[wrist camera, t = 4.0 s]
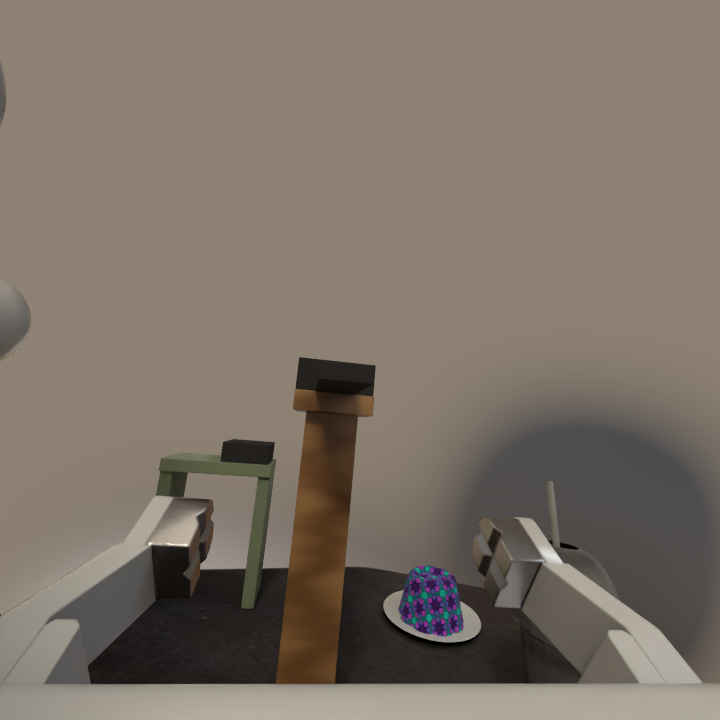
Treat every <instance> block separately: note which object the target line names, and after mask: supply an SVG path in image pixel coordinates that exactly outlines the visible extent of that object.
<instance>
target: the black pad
mask: <svg viewBox="0 0 720 720" xmlns="http://www.w3.org/2000/svg"><path fill="white" fill-rule="evenodd" d="M374 378H375V366H374V365H364V364H356V363H347V362H338V361H329V360H319V359H310V358H299V365H298V374H297V381H296V389H300V390H311V391H321V392H331V393H341V394H352V395H362V396H372V397H373V390H374Z"/></svg>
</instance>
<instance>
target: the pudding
mask: <svg viewBox="0 0 720 720" xmlns="http://www.w3.org/2000/svg"><path fill="white" fill-rule="evenodd" d="M383 606H384V611H385V614H386V615H387V617H388V618H389V619H390V620H391V621H392V622H393V623H394V624H395V625H397V626H398V627H399V628H401V629H403V630H405V631H406V632H408V633H411V634H413V635H415V636H418V637H421V638H424V639H428V640H433V641H439V642H460V641H465V640H469V639H471V638H473V637H475V636H476V635H477V634H478V633H479V631H480V630H481V622H480V619H479V617H478V615H477V614H476V613H475V612H474V611H473V610H472V609H471V608H470V607H468V606H467V605H465V604H464V603H462V602H461V601H460V599H459V593H458V588H457V583H456V580H455V577H454V576H453V575H452V574H450V573H448V572H447V571H445V570H443V569H440V568H436V567H433V566H418V567H415V569H412V570H411V571H410V573H409V574H408V577H407V581H406V584H405V588H404V590H403V591H398V592H395V593H393V594H391V595H390V596H388V597H387V598H386V600H385V601H384V605H383Z"/></svg>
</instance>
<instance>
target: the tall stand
mask: <svg viewBox="0 0 720 720" xmlns="http://www.w3.org/2000/svg"><path fill="white" fill-rule="evenodd" d="M373 405H374V397H372V396H362V395H352V394H341V393H331V392H321V391H311V390H300V389H295V395H294V403H293V409H294V410H296V411H300V412H306V420H305V430H304V438H303V447H302V457H301V465H300V474H299V484H298V492H297V501H296V509H295V519H294V528H293V537H292V545H291V554H290V563H289V572H288V581H287V589H286V598H285V607H284V616H283V625H282V634H281V643H280V652H279V661H278V670H277V678H276V684H335V676H336V664H337V652H338V641H339V629H340V617H341V606H342V594H343V583H344V571H345V559H346V547H347V536H348V524H349V513H350V501H351V490H352V478H353V466H354V455H355V443H356V431H357V420H358V417H366V416H367V417H368V416H373Z"/></svg>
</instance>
